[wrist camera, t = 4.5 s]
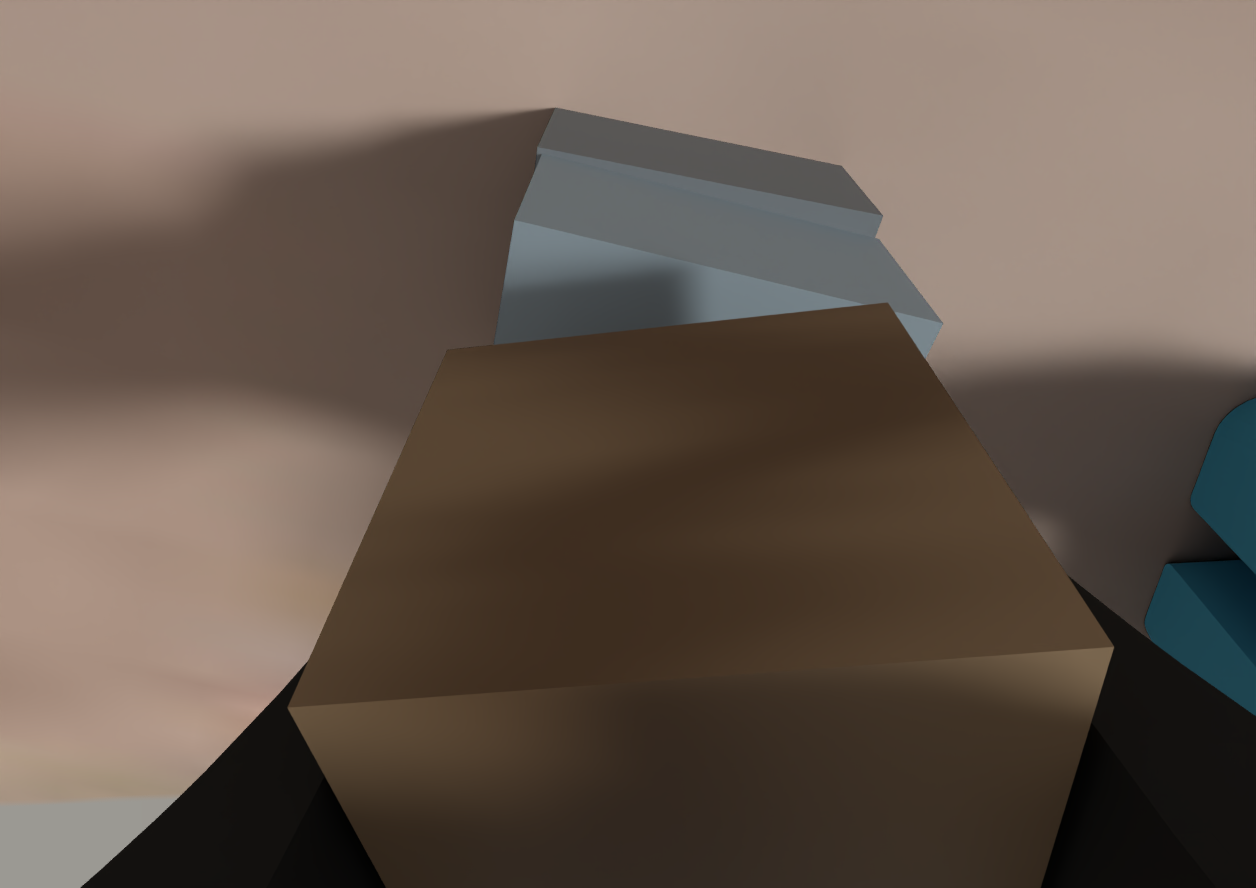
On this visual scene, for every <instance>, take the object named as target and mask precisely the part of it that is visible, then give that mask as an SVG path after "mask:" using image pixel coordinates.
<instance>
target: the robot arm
mask: <svg viewBox="0 0 1256 888" xmlns="http://www.w3.org/2000/svg"><path fill="white" fill-rule="evenodd" d="M1067 576H1068V575H1067ZM1068 577H1069V576H1068ZM1069 579H1070V580H1071V582H1072V583H1073V585H1074V586H1075V588H1076V589H1077V591H1078V593H1079V594H1080V596H1081V597H1082V599H1083V600H1084V602H1085V603H1086V605H1087V606H1088V608H1089V609H1090V611H1091V612H1092V614H1093V615H1094V617H1095V618H1096V620H1097V621H1098V623H1099V624H1100V626H1101V628H1102V629H1103V631H1104V632H1105V634H1106V635H1107V637H1108V638H1109V640H1110V641H1111V643H1112V644H1113V646H1114V649H1113V653H1112V656H1111V659H1110V662H1109V666H1108V669H1107V672H1106V675H1105V679H1104V682H1103V685H1102V689H1101V692H1100V695H1099V698H1098V702H1097V705H1096V708H1095V711H1094V715H1093V718H1092V721H1091V725H1090V728H1089V731H1088V734H1087V738H1086V741H1085V744H1084V747H1083V751H1082V754H1081V757H1080V761H1079V764H1078V767H1077V770H1076V774H1075V777H1074V780H1073V783H1072V787H1071V790H1070V793H1069V797H1068V800H1067V803H1066V806H1065V810H1064V813H1063V816H1062V819H1061V823H1060V826H1059V829H1058V833H1057V836H1056V839H1055V842H1054V846H1053V849H1052V852H1051V855H1050V859H1049V862H1048V865H1047V869H1046V872H1045V875H1044V878H1043V882H1042V885H1041V888H1256V716H1255V715H1254V714H1252V713H1251V712H1249V711H1248V710H1246V709H1245V708H1244V707H1242V706H1241V705H1239V704H1238V703H1237V702H1235V701H1234V700H1232V699H1231V698H1229V697H1228V696H1227V695H1225V694H1224V693H1222V692H1221V691H1220V690H1218V689H1217V688H1215V687H1214V686H1213V685H1211V684H1210V683H1208V682H1207V681H1205V680H1204V679H1203V678H1201V677H1200V676H1198V675H1197V674H1196V673H1194V672H1193V671H1191V670H1190V669H1188V668H1187V667H1186V666H1184V665H1183V664H1181V663H1180V662H1179V661H1177V660H1176V659H1175V658H1173V657H1172V656H1171V655H1169V654H1168V653H1167V652H1165V651H1164V650H1163V649H1161V648H1160V647H1159V646H1157V645H1156V644H1155V643H1153V642H1152V641H1151V640H1149V639H1148V638H1147V637H1145V636H1144V635H1143V634H1141V633H1140V632H1139V631H1137V630H1136V629H1135V628H1133V627H1132V626H1131V625H1130V624H1128V623H1127V622H1126V621H1124V620H1123V619H1122V618H1121V617H1119V616H1118V615H1117V614H1115V613H1114V612H1113V611H1112V610H1110V609H1109V608H1108V607H1107V606H1105V605H1104V604H1103V603H1101V602H1100V601H1099V600H1098V599H1096V598H1095V597H1094V596H1093V595H1091V594H1090V593H1089V592H1088V591H1086V590H1085V589H1084V588H1083V587H1081V586H1080V585H1079V584H1078V583H1076V582H1075V581H1074V580H1073V579H1071V578H1070V577H1069ZM308 661H309V660H308ZM307 663H308V662H307ZM307 663H306V664H305V665H304V666H303V667H302V668H301V669H300V671H299V672H298V673H297V674H296V675H295V676H294V677H293V679H292V680H291V681H290V682H289V683H288V684H287V685H286V687H285V688H284V689H283V690H282V691H281V692H280V693H279V694H278V695H277V696H276V698H275V699H274V700H273V701H272V702H271V703H270V704H269V705H268V706H267V707H266V708H265V709H264V710H263V711H262V712H261V713H260V714H259V715H258V716H257V717H256V719H255V720H254V721H253V722H252V723H251V724H250V725H249V726H248V727H247V728H246V729H245V730H244V731H243V732H242V733H241V734H240V735H239V736H238V737H237V739H236V740H235V741H234V742H233V743H232V744H231V745H230V746H229V747H228V748H227V749H226V750H225V751H224V752H223V753H222V754H221V755H220V756H219V757H218V759H217V760H216V761H215V762H214V763H213V764H212V765H211V766H210V767H209V768H208V769H207V770H206V771H205V772H204V773H203V774H202V775H201V776H200V777H199V778H198V779H197V780H196V781H195V782H194V783H193V784H192V785H191V786H190V787H189V788H188V789H187V790H186V791H185V792H184V793H183V794H182V795H181V796H180V797H179V798H178V799H177V800H176V801H175V802H173V803H172V804H171V805H170V806H169V807H168V808H167V809H166V810H165V811H164V812H163V813H162V814H161V815H160V816H159V817H158V818H157V819H156V820H155V821H154V822H152V823H151V824H150V825H149V826H148V827H147V828H146V829H145V830H144V831H143V832H142V833H141V834H139V835H138V836H137V837H136V838H135V839H134V840H133V841H132V842H131V843H130V844H129V845H127V846H126V847H125V848H124V849H123V850H122V851H121V852H120V853H119V854H118V855H117V856H115V857H114V858H113V859H112V860H111V861H110V862H109V863H108V864H107V865H105V867H103V868H102V869H101V870H100V871H99V872H98V873H97V874H95V875H94V876H93V877H92V878H91V879H90V880H89V881H88V882H86V883H85V884H84V885H83V886H82V887H81V888H386V887H385V885H384V883H383V881H382V880H381V878H380V876H379V874H378V872H377V870H376V869H375V867H374V865H373V863H372V861H371V859H370V858H369V856H368V854H367V852H366V850H365V849H364V847H363V845H362V843H361V841H360V839H359V838H358V836H357V834H356V832H355V830H354V828H353V827H352V825H351V823H350V821H349V819H348V817H347V816H346V814H345V812H344V810H343V808H342V807H341V805H340V803H339V801H338V799H337V797H336V796H335V794H334V792H333V790H332V788H331V786H330V785H329V783H328V781H327V779H326V777H325V775H324V774H323V772H322V770H321V768H320V766H319V765H318V763H317V761H316V759H315V757H314V755H313V754H312V752H311V750H310V748H309V746H308V744H307V743H306V741H305V739H304V737H303V735H302V733H301V732H300V730H299V728H298V726H297V724H296V723H295V721H294V719H293V717H292V715H291V713H290V712H289V710H288V708H287V707H288V705H289V703H290V701H291V699H292V696H293V694H294V692H295V690H296V687H297V685H298V683H299V681H300V678H301V676H302V674H303V672H304V669H305V667H306V665H307Z"/></svg>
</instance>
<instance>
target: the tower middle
mask: <svg viewBox="0 0 1256 888" xmlns="http://www.w3.org/2000/svg"><path fill="white" fill-rule="evenodd" d="M887 302H888V303H889V305H890V306H891V308H892V309H893V311H894V312H895V314H896V315H897V317H898V318H899V320H900V322H901V323H902V325H903V326H904V328H905V329H906V331H907V332H908V334H909V335H910V337H911V338H912V340H913V341H914V343H915V344H916V346H917V347H918V349H919V350H920V352H921V353H922V355H923V357H924V358H926V356H927V354H928V352H929V350H930V348H931V346H932V344H933V342H934V340H935V339H936V337H937V335H938V333H939V331H940V329H941V327H942V325H943V322H942V321H941V320H940V319H939V317H938V316H937V315H936V313H935V312H934V311H933V309H932V308H931V307H930V305H929V304H928V303H927V301H926V300H925V299H924V298H923V296H922V295H921V294H920V292H919V291H918V290H917V288H916V287H915V286H914V284H913V283H912V282H911V280H910V279H909V278H908V277H907V275H906V274H905V273H904V271H903V270H902V269H901V267H900V266H899V265H898V263H897V262H896V261H895V259H894V258H893V257H892V256H891V254H890V253H889V252H888V250H887V249H886V248H885V246H884V245H883V244H882V242H881V241H880V240H879V239H876V238H872V237H868V236H864V235H861V234H857V233H853V232H849V231H845V230H841V229H837V228H833V227H829V226H825V225H821V224H817V223H813V222H809V221H805V220H801V219H797V218H793V217H789V216H785V215H781V214H777V213H774V212H770V211H766V210H762V209H758V208H754V207H750V206H746V205H742V204H738V203H734V202H730V201H726V200H722V199H718V198H714V197H710V196H706V195H702V194H698V193H694V192H690V191H686V190H682V189H678V188H675V187H671V186H667V185H663V184H659V183H655V182H651V181H647V180H643V179H639V178H635V177H631V176H627V175H623V174H619V173H615V172H611V171H607V170H603V169H599V168H595V167H591V166H587V165H583V164H579V163H576V162H572V161H568V160H564V159H560V158H556V157H552V156H548V155H544V154H542V155H541V157H540V160H539V162H538V165H537V167H536V169H535V172H534V174H533V177H532V179H531V181H530V184H529V186H528V189H527V191H526V193H525V196H524V198H523V201H522V203H521V205H520V208H519V210H518V213H517V215H516V217H515V220H514V226H513V232H512V238H511V244H510V250H509V256H508V262H507V268H506V274H505V280H504V286H503V291H502V297H501V303H500V309H499V315H498V321H497V327H496V333H495V339H494V345H497V344H506V343H516V342H525V341H534V340H543V339H553V338H562V337H571V336H580V335H590V334H599V333H608V332H618V331H627V330H636V329H645V328H655V327H664V326H673V325H683V324H692V323H701V322H710V321H720V320H729V319H738V318H748V317H757V316H766V315H775V314H785V313H794V312H803V311H812V310H822V309H831V308H840V307H850V306H859V305H868V304H877V303H887Z"/></svg>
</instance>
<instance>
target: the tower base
mask: <svg viewBox="0 0 1256 888" xmlns="http://www.w3.org/2000/svg"><path fill="white" fill-rule="evenodd" d="M542 154H544V155H548V156H552V157H556V158H560V159H564V160H568V161H572V162H576V163H579V164H583V165H587V166H591V167H595V168H599V169H603V170H607V171H611V172H615V173H619V174H623V175H627V176H631V177H635V178H639V179H643V180H647V181H651V182H655V183H659V184H663V185H667V186H671V187H675V188H678V189H682V190H686V191H690V192H694V193H698V194H702V195H706V196H710V197H714V198H718V199H722V200H726V201H730V202H734V203H738V204H742V205H746V206H750V207H754V208H758V209H762V210H766V211H770V212H774V213H777V214H781V215H785V216H789V217H793V218H797V219H801V220H805V221H809V222H813V223H817V224H821V225H825V226H829V227H833V228H837V229H841V230H845V231H849V232H853V233H857V234H861V235H864V236H868V237H872V238H875V236H876V233H877V231H878V228H879V225H880V223H881V220H882V217H883V215H882V214H881V213H880V211H879V210H878V209H877V208H876V207H875V205H874V204H873V203H872V202H871V201H870V199H869V198H868V197H867V196H866V195H865V193H864V192H863V191H862V190H861V189H860V187H859V186H858V185H857V184H856V183H855V181H854V180H853V179H852V178H851V177H850V175H849V174H848V173H847V172H846V171H845V169H844V168H843V167H842V166H840V165H835V164H830V163H825V162H820V161H815V160H810V159H805V158H800V157H795V156H791V155H786V154H781V153H776V152H771V151H766V150H761V149H756V148H751V147H746V146H742V145H737V144H732V143H727V142H722V141H717V140H712V139H707V138H702V137H697V136H692V135H688V134H683V133H678V132H673V131H668V130H663V129H658V128H653V127H648V126H643V125H638V124H634V123H629V122H624V121H619V120H614V119H609V118H604V117H599V116H594V115H589V114H585V113H580V112H575V111H570V110H565V109H560V108H555V110H554V112H553V114H552V116H551V118H550V121H549V123H548V125H547V127H546V129H545V132H544V134H543V136H542V138H541V140H540V143H539V145H538V147H537V155H536V163H535V169H536V167H537V165H538V162H539V160H540V157H541V155H542ZM534 172H535V171H534Z"/></svg>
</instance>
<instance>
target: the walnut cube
mask: <svg viewBox="0 0 1256 888" xmlns="http://www.w3.org/2000/svg"><path fill="white" fill-rule="evenodd" d="M1113 649H1114V646H1113V644H1112V643H1111V641H1110V640H1109V638H1108V637H1107V635H1106V634H1105V632H1104V631H1103V629H1102V628H1101V626H1100V624H1099V623H1098V621H1097V620H1096V618H1095V617H1094V615H1093V614H1092V612H1091V611H1090V609H1089V608H1088V606H1087V605H1086V603H1085V602H1084V600H1083V599H1082V597H1081V596H1080V594H1079V593H1078V591H1077V589H1076V588H1075V586H1074V585H1073V583H1072V582H1071V580H1070V579H1069V577H1068V576H1067V574H1066V573H1065V571H1064V570H1063V568H1062V567H1061V565H1060V564H1059V562H1058V561H1057V559H1056V557H1055V556H1054V554H1053V553H1052V551H1051V550H1050V548H1049V547H1048V545H1047V544H1046V542H1045V541H1044V539H1043V538H1042V536H1041V535H1040V533H1039V532H1038V530H1037V529H1036V527H1035V526H1034V524H1033V522H1032V521H1031V519H1030V518H1029V516H1028V515H1027V513H1026V512H1025V510H1024V509H1023V507H1022V506H1021V504H1020V503H1019V501H1018V500H1017V498H1016V497H1015V495H1014V494H1013V492H1012V491H1011V489H1010V487H1009V486H1008V484H1007V483H1006V481H1005V480H1004V478H1003V477H1002V475H1001V474H1000V472H999V471H998V469H997V468H996V466H995V465H994V463H993V462H992V460H991V459H990V457H989V455H988V454H987V452H986V451H985V449H984V448H983V446H982V445H981V443H980V442H979V440H978V439H977V437H976V436H975V434H974V433H973V431H972V430H971V428H970V427H969V425H968V424H967V422H966V420H965V419H964V417H963V416H962V414H961V413H960V411H959V410H958V408H957V407H956V405H955V404H954V402H953V401H952V399H951V398H950V396H949V395H948V393H947V392H946V390H945V388H944V387H943V385H942V384H941V382H940V381H939V379H938V378H937V376H936V375H935V373H934V372H933V370H932V369H931V367H930V366H929V364H928V363H927V361H926V360H925V358H924V357H923V355H922V353H921V352H920V350H919V349H918V347H917V346H916V344H915V343H914V341H913V340H912V338H911V337H910V335H909V334H908V332H907V331H906V329H905V328H904V326H903V325H902V323H901V322H900V320H899V318H898V317H897V315H896V314H895V312H894V311H893V309H892V308H891V306H890V305H889V303H888V302H887V303H877V304H868V305H859V306H850V307H840V308H831V309H822V310H812V311H803V312H794V313H785V314H775V315H766V316H757V317H748V318H738V319H729V320H720V321H710V322H701V323H692V324H683V325H673V326H664V327H655V328H645V329H636V330H627V331H618V332H608V333H599V334H590V335H580V336H571V337H562V338H553V339H543V340H534V341H525V342H516V343H506V344H497V345H488V346H478V347H469V348H460V349H451V350H447V352H446V354H445V357H444V359H443V361H442V363H441V366H440V368H439V370H438V372H437V375H436V377H435V379H434V381H433V383H432V386H431V388H430V390H429V392H428V395H427V397H426V399H425V401H424V404H423V406H422V408H421V410H420V413H419V415H418V417H417V419H416V421H415V424H414V426H413V428H412V430H411V433H410V435H409V437H408V439H407V442H406V444H405V446H404V448H403V451H402V453H401V455H400V457H399V459H398V462H397V464H396V466H395V468H394V471H393V473H392V475H391V477H390V480H389V482H388V484H387V486H386V488H385V491H384V493H383V495H382V497H381V500H380V502H379V504H378V506H377V509H376V511H375V513H374V515H373V518H372V520H371V522H370V524H369V526H368V529H367V531H366V533H365V535H364V538H363V540H362V542H361V544H360V547H359V549H358V551H357V553H356V556H355V558H354V560H353V562H352V564H351V567H350V569H349V571H348V573H347V576H346V578H345V580H344V582H343V585H342V587H341V589H340V591H339V594H338V596H337V598H336V600H335V602H334V605H333V607H332V609H331V611H330V614H329V616H328V618H327V620H326V623H325V625H324V627H323V629H322V632H321V634H320V636H319V638H318V640H317V643H316V645H315V647H314V649H313V652H312V654H311V656H310V658H309V661H308V663H307V665H306V667H305V669H304V672H303V674H302V676H301V678H300V681H299V683H298V685H297V687H296V690H295V692H294V694H293V696H292V699H291V701H290V703H289V705H288V707H287V708H288V710H289V712H290V713H291V715H292V717H293V719H294V721H295V723H296V724H297V726H298V728H299V730H300V732H301V733H302V735H303V737H304V739H305V741H306V743H307V744H308V746H309V748H310V750H311V752H312V754H313V755H314V757H315V759H316V761H317V763H318V765H319V766H320V768H321V770H322V772H323V774H324V775H325V777H326V779H327V781H328V783H329V785H330V786H331V788H332V790H333V792H334V794H335V796H336V797H337V799H338V801H339V803H340V805H341V807H342V808H343V810H344V812H345V814H346V816H347V817H348V819H349V821H350V823H351V825H352V827H353V828H354V830H355V832H356V834H357V836H358V838H359V839H360V841H361V843H362V845H363V847H364V849H365V850H366V852H367V854H368V856H369V858H370V859H371V861H372V863H373V865H374V867H375V869H376V870H377V872H378V874H379V876H380V878H381V880H382V881H383V883H384V885H385V887H386V888H1041V885H1042V882H1043V878H1044V875H1045V872H1046V869H1047V865H1048V862H1049V859H1050V855H1051V852H1052V849H1053V846H1054V842H1055V839H1056V836H1057V833H1058V829H1059V826H1060V823H1061V819H1062V816H1063V813H1064V810H1065V806H1066V803H1067V800H1068V797H1069V793H1070V790H1071V787H1072V783H1073V780H1074V777H1075V774H1076V770H1077V767H1078V764H1079V761H1080V757H1081V754H1082V751H1083V747H1084V744H1085V741H1086V738H1087V734H1088V731H1089V728H1090V725H1091V721H1092V718H1093V715H1094V711H1095V708H1096V705H1097V702H1098V698H1099V695H1100V692H1101V689H1102V685H1103V682H1104V679H1105V675H1106V672H1107V669H1108V666H1109V662H1110V659H1111V656H1112V653H1113Z"/></svg>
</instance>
